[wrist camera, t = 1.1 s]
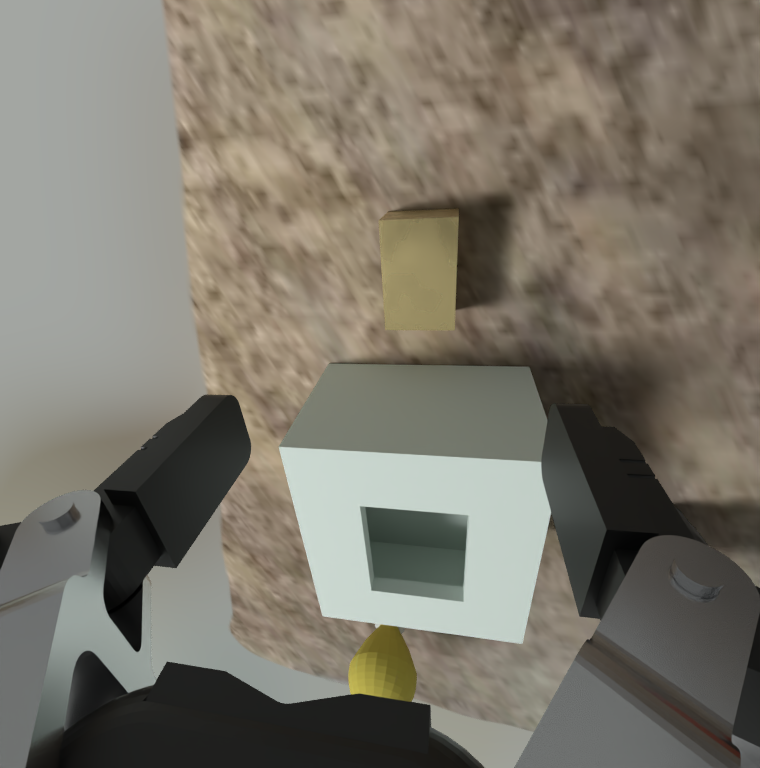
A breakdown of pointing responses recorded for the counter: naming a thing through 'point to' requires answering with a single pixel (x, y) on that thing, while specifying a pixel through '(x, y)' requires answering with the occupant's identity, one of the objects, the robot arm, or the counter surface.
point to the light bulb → (384, 666)
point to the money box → (422, 495)
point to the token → (419, 268)
